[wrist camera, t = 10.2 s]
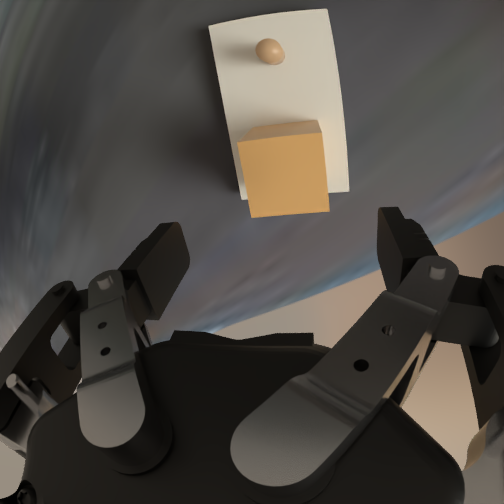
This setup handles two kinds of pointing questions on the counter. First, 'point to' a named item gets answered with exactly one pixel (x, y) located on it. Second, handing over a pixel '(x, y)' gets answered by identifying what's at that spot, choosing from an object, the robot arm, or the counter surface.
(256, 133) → the light orange block
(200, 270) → the counter surface
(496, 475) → the robot arm
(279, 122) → the base
